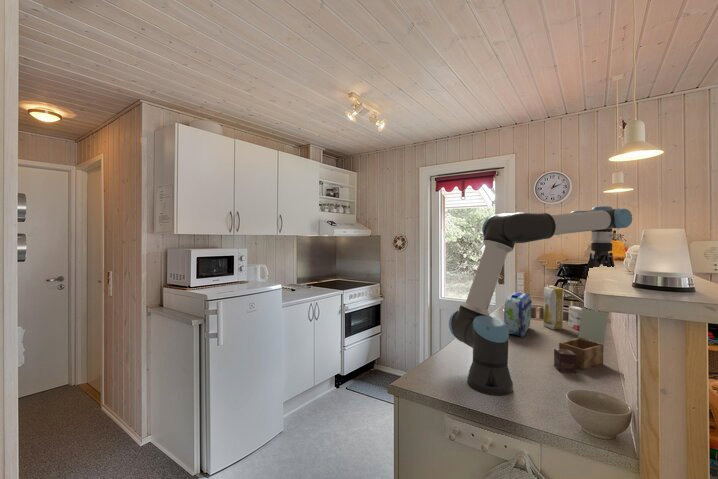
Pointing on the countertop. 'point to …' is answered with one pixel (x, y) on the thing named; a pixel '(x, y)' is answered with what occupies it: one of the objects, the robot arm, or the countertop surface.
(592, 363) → the crate
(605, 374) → the countertop surface
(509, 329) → the lunch box
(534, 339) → the countertop surface
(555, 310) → the juice carton
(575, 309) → the ink box
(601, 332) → the lid
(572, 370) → the box
